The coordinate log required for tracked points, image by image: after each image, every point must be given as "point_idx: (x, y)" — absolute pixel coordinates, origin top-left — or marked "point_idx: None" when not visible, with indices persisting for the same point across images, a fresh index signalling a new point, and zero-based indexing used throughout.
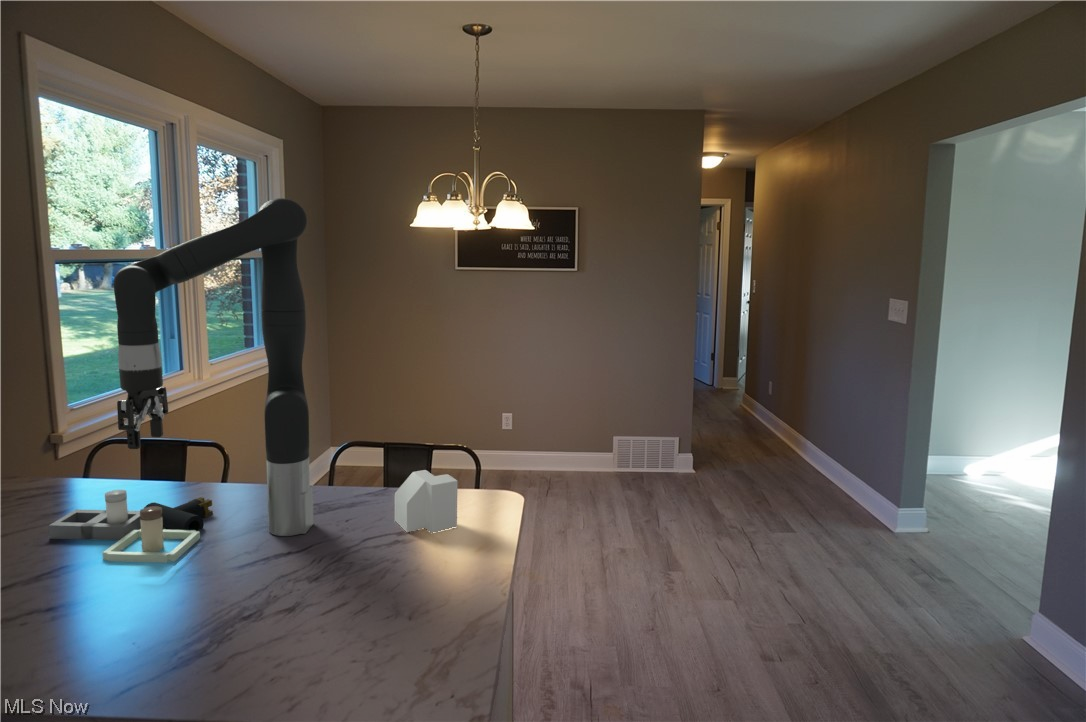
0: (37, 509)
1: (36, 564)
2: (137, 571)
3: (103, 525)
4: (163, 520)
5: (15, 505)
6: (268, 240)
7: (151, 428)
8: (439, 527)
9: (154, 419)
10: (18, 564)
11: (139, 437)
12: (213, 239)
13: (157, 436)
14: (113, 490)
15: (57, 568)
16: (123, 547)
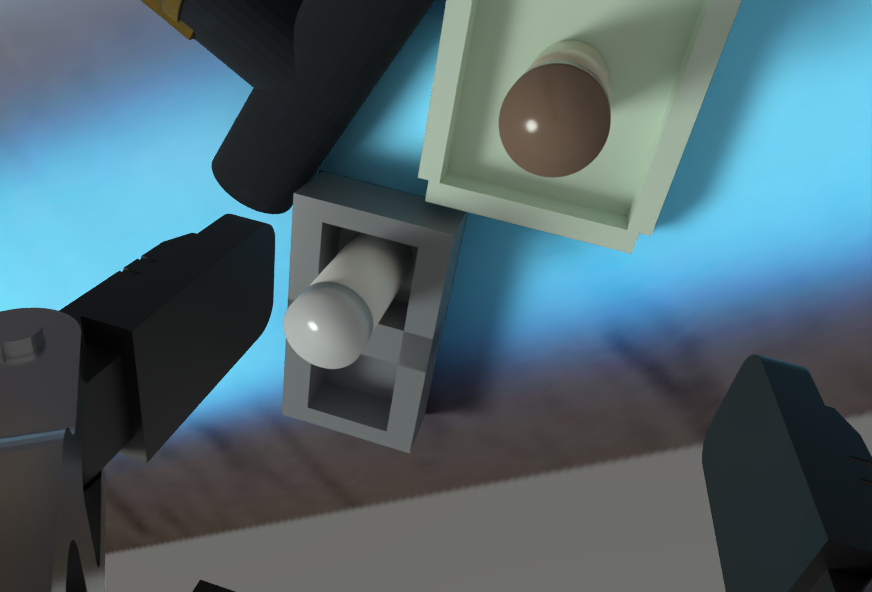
0: (201, 485)
1: (578, 412)
2: (743, 92)
3: (427, 307)
4: (354, 105)
5: (183, 528)
6: None
7: (218, 372)
8: None
9: (121, 416)
10: (566, 451)
11: (814, 451)
12: None
13: (272, 262)
14: (294, 347)
15: (625, 356)
16: (542, 200)
